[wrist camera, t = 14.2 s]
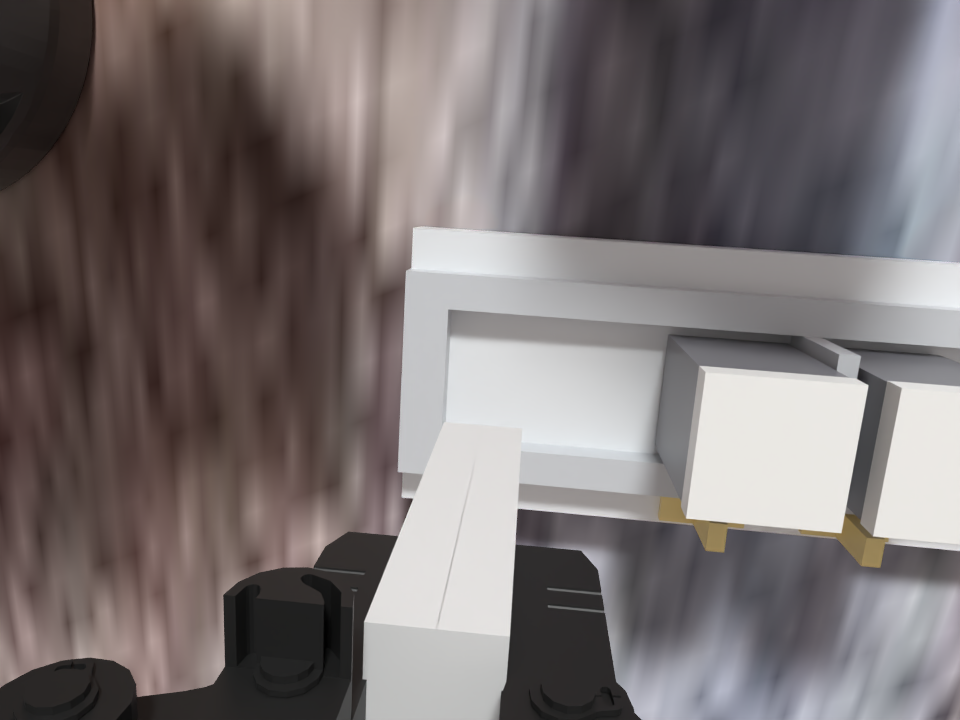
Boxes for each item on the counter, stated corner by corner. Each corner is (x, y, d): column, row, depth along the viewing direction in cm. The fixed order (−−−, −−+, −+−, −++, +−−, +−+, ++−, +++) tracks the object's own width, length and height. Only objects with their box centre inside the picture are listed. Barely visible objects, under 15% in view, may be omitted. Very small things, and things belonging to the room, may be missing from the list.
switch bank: (411, 477, 29) (377, 546, 23) (423, 226, 27) (388, 231, 21) (1120, 544, 27) (1280, 637, 21) (1193, 278, 25) (1394, 300, 19)
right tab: (795, 458, 25) (873, 536, 19) (814, 343, 24) (901, 388, 18) (916, 469, 25) (1034, 551, 19) (940, 353, 24) (1071, 401, 18)
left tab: (653, 446, 25) (686, 518, 19) (667, 332, 25) (705, 372, 19) (771, 456, 25) (841, 533, 19) (789, 342, 24) (868, 385, 18)
